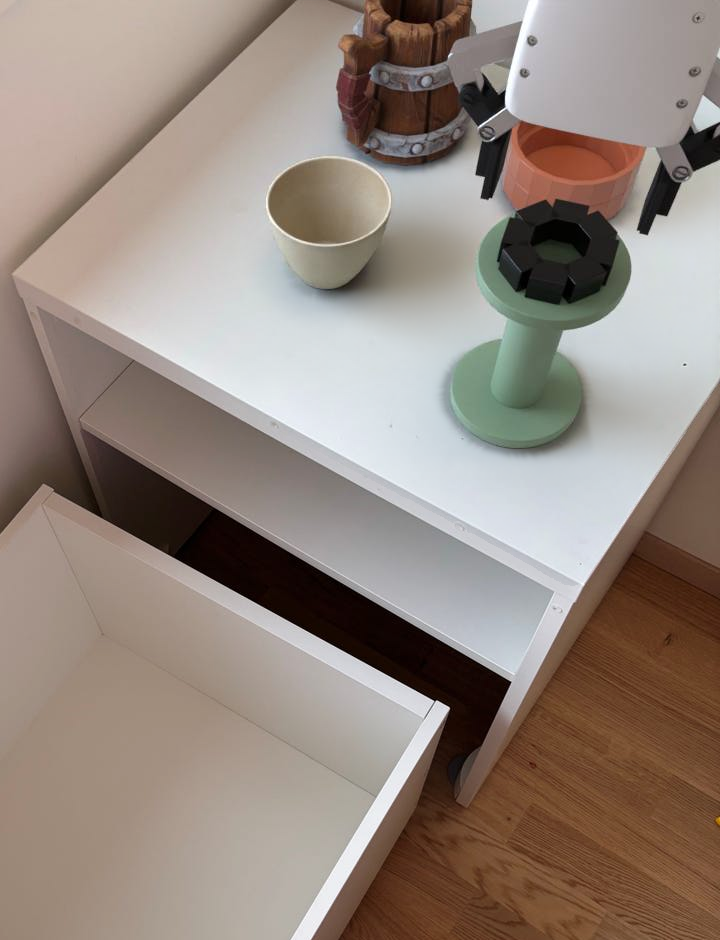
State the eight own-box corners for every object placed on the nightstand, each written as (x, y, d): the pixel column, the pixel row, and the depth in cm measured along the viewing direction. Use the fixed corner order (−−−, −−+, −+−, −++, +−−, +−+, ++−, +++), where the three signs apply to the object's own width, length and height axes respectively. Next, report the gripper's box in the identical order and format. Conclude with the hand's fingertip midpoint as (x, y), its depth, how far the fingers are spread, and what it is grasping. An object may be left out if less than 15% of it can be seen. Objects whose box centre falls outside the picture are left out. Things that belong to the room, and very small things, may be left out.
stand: (591, 363, 80) (645, 224, 67) (562, 462, 76) (614, 335, 63) (468, 333, 81) (498, 193, 69) (434, 429, 78) (460, 300, 65)
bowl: (640, 156, 89) (658, 105, 84) (614, 244, 84) (632, 196, 80) (517, 132, 91) (529, 81, 86) (487, 217, 87) (497, 168, 82)
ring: (620, 234, 67) (628, 213, 65) (597, 314, 64) (604, 294, 62) (513, 212, 68) (518, 190, 66) (486, 289, 65) (491, 268, 64)
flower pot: (388, 310, 83) (395, 244, 76) (268, 313, 84) (265, 248, 77) (383, 222, 87) (389, 152, 81) (269, 226, 88) (266, 156, 81)
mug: (505, 112, 91) (518, -40, 77) (401, 219, 90) (395, 84, 76) (408, 57, 95) (403, -97, 81) (306, 159, 94) (284, 20, 80)
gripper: (866, -116, 46) (720, 189, 61) (496, -172, 49) (447, 131, 65) (846, -14, 43) (699, 277, 59) (456, -80, 46) (415, 213, 62)
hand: (567, 201), depth 62 cm, fingers open, 9 cm apart
